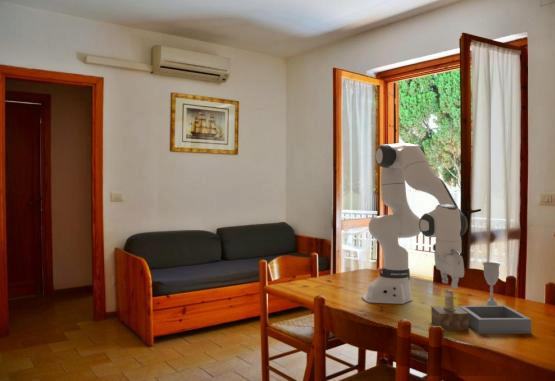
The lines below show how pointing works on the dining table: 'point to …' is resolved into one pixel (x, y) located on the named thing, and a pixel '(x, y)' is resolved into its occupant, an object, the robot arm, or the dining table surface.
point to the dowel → (449, 300)
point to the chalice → (491, 279)
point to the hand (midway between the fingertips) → (449, 285)
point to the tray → (497, 320)
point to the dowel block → (450, 318)
